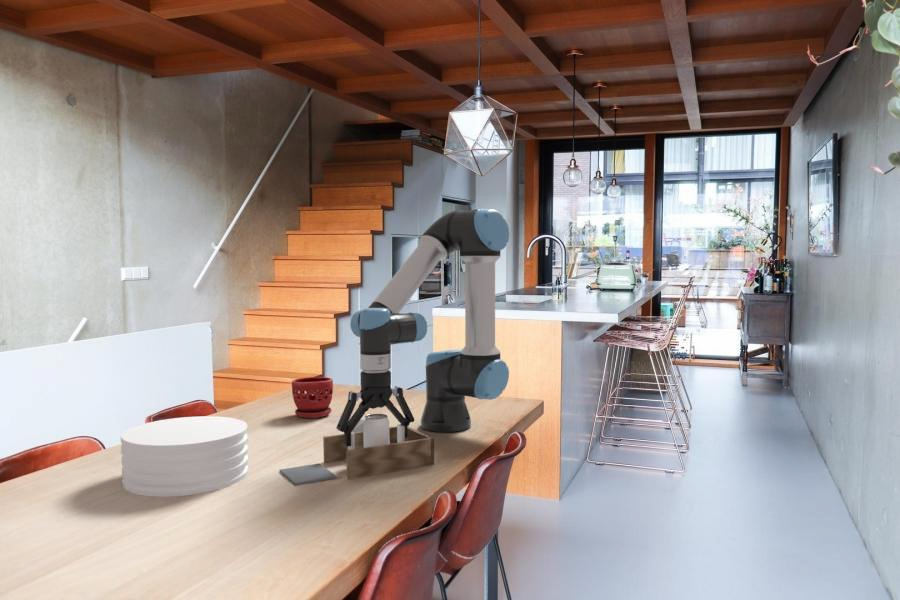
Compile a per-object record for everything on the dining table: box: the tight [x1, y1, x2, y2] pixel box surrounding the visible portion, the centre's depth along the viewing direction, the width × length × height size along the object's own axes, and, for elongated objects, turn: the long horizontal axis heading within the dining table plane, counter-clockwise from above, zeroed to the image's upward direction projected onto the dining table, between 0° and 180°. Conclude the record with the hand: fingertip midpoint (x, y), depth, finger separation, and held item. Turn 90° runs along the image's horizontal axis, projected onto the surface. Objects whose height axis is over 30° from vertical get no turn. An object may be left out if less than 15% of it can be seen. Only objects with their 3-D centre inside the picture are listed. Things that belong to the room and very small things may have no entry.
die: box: [352, 416, 365, 432], centre depth 196 cm, size 8×9×10 cm
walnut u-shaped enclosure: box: [322, 425, 435, 480], centre depth 182 cm, size 23×16×6 cm
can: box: [363, 413, 390, 448], centre depth 181 cm, size 6×6×12 cm
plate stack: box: [120, 415, 249, 498], centre depth 172 cm, size 28×28×12 cm
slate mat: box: [279, 463, 338, 486], centre depth 173 cm, size 10×12×1 cm
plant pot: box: [291, 376, 334, 419], centre depth 235 cm, size 13×13×12 cm
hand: (376, 454), depth 182 cm, fingers open, 13 cm apart
